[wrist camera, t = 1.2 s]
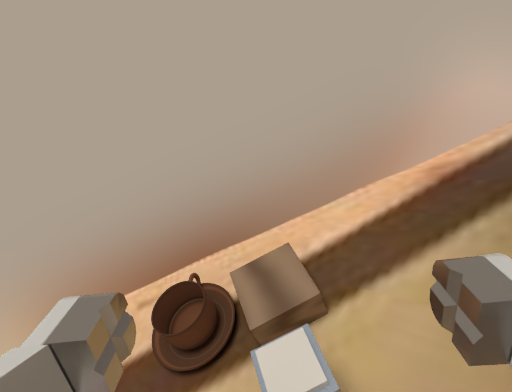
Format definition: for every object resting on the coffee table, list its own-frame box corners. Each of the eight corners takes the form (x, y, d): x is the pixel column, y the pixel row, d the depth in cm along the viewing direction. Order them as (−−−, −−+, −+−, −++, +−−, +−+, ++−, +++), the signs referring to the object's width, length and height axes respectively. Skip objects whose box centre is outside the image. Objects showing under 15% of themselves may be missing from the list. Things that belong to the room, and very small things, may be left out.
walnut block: (297, 263, 46) (288, 242, 42) (328, 314, 38) (320, 292, 35) (242, 292, 45) (229, 272, 42) (263, 349, 38) (250, 330, 35)
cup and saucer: (159, 309, 48) (137, 287, 44) (231, 278, 47) (215, 253, 44) (158, 392, 38) (130, 373, 34) (248, 353, 38) (229, 330, 34)
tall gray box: (329, 371, 34) (305, 318, 26) (357, 428, 29) (337, 384, 22) (283, 394, 33) (247, 347, 26) (304, 455, 29) (267, 420, 22)
